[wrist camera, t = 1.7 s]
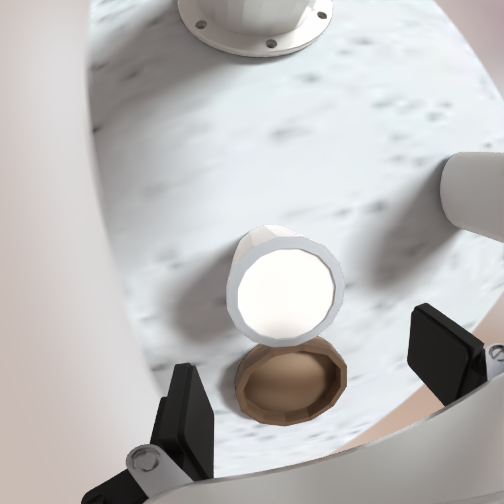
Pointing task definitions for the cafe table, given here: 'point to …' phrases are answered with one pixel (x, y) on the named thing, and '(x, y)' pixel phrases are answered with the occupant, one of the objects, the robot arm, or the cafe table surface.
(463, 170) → the can
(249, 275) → the white tapered cylinder
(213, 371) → the cafe table surface
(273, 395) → the round bowl
